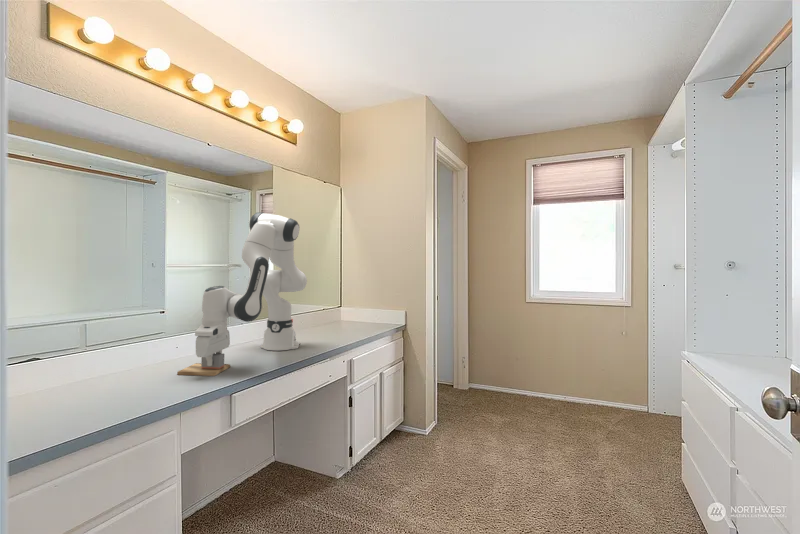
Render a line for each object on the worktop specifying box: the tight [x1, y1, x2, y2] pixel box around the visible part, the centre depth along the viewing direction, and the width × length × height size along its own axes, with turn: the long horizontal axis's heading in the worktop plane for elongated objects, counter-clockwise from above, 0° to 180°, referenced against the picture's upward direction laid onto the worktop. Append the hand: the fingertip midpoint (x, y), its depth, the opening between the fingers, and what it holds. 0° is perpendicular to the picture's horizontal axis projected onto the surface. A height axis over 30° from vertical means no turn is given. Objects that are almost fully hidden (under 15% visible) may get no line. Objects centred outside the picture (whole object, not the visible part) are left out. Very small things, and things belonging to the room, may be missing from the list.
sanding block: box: [200, 353, 225, 369], centre depth 157 cm, size 4×7×5 cm, turn 88°
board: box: [176, 362, 231, 377], centre depth 157 cm, size 13×14×1 cm
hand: (213, 363), depth 157 cm, fingers closed on sanding block, 4 cm apart
